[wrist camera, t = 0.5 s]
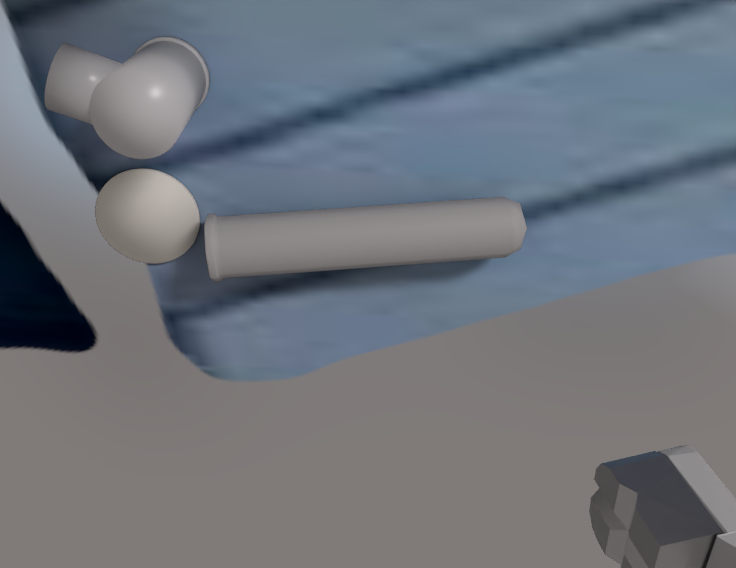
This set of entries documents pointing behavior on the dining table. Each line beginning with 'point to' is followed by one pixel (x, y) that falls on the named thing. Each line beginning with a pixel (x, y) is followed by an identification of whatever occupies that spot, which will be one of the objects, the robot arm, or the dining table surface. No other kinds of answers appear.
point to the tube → (362, 237)
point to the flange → (147, 215)
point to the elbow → (131, 93)
